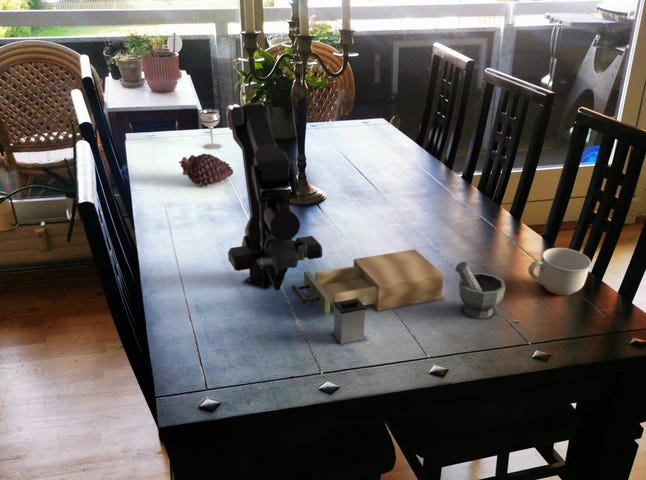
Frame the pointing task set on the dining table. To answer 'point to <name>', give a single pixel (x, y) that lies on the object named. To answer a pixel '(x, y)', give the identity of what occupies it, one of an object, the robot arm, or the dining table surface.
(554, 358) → the dining table surface
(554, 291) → the teacup
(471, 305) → the mortar and pestle
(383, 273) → the cabinet
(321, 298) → the drawer
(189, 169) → the pine cone
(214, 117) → the wineglass
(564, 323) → the dining table surface
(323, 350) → the dining table surface
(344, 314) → the metal box
